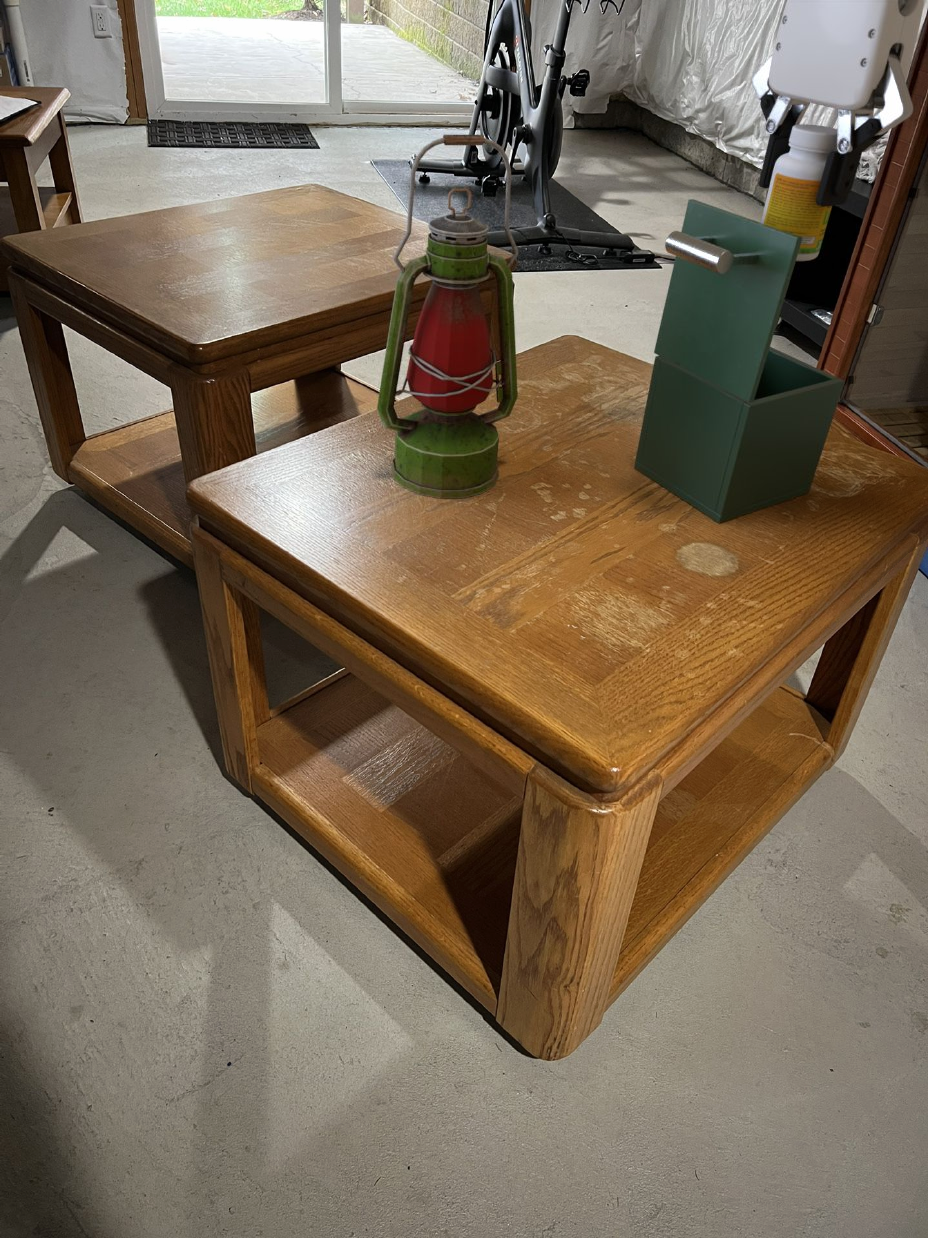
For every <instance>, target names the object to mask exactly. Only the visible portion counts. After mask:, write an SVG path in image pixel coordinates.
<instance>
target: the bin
mask: <svg viewBox="0 0 928 1238" xmlns="http://www.w3.org/2000/svg"><path fill="white" fill-rule="evenodd" d="M845 382H846V381H845V380H843V379H841V378H839V377H837V376H835V375H833V374H831V373H828V372H827V371H824V370H822V369H819V368H817V367H815V366H813V365H812V364H811V365H810V364H808V363H806V362H805V361H802V360H800V359H798V358H796V357H794V356H792V355H789V354H787V353H785V352H783V351H781V350H778V349H777V348H774V347H772V346H770V348H769V352H768V355H767V358H766V362H765V365H764V368H763V371H762V375H761V378H760V381H759V385H758V388H757V391H756V395H755V398H754V401H753V402H747V401H745V400H743V399H741V398H739V397H737V396H735V395H733V394H732V393H730V392H728V391H726V390H724V389H722V388H720V387H718V386H716V385H714V384H712V383H711V382H709V381H707V380H705V379H703V378H701V377H699V376H697V375H695V374H693V373H691V372H689V371H688V370H686V369H684V368H682V367H680V366H678V365H676V364H674V363H672V362H670V361H668V360H667V359H665V358H663V357H661V356H659V355H656V356H655V357H654V361H653V367H652V372H651V377H650V383H649V387H648V393H647V398H646V404H645V408H644V412H643V413H644V414H643V418H642V425H641V429H640V434H639V440H638V444H637V450H636V454H635V455H636V456H635V459H634V460H635V461H634V466H633V468H634V469H635V470H636V471H638V472H640V473H642V474H643V475H645V477H647V478H649V479H650V480H652V481H654V482H655V483H657V484H658V485H659V486H661V487H663V488H664V489H666V490H667V491H669V492H670V493H672V494H673V495H675V496H676V497H678V498H679V499H681V500H682V501H684V502H686V503H687V504H689V505H690V506H692V507H693V508H695V509H696V510H698V511H700V512H701V513H703V515H705V516H707V517H709V518H710V519H712V520H713V521H714V522H716V523H718V524H721V523H724V522H728V521H731V520H733V519H737V518H739V517H743V516H745V515H748V514H751V513H754V512H758V511H760V510H763V509H766V508H768V507H772V506H775V505H777V504H781V503H783V502H786V501H789V500H792V499H795V498H798V497H801V496H803V495H806V494H807V495H808V494H809V493H810V490H811V487H812V484H813V481H814V477H815V475H816V472H817V469H818V466H819V463H820V460H821V457H822V455H823V450H824V447H825V444H826V441H827V438H828V435H829V432H830V429H831V426H832V424H833V420H834V417H835V414H836V410H837V408H838V404H839V401H840V398H841V395H842V392H843V390H844V386H845Z"/></svg>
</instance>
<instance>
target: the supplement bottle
mask: <svg viewBox="0 0 928 1238" xmlns="http://www.w3.org/2000/svg"><path fill="white" fill-rule="evenodd" d="M789 142H790V143H789V146H790V147H791V149H790V151H789V153H786V154H783V155H782V156H780V157H779V158H778V159H777V161H776V163H775V166H774V169H773V173H772V177H771V182H770V186H769V188H768V190H767V195H766V199H765V202H764V207H763V211H762V214H761V219H760V223H763V224H765V225H768V226H771V227H774V228H777V229H780V230H783V231H785V232H788V233H791V234H794V235H797V236H800V237H802V238H803V239H802V242H801V245H800V249H799V252H798V255H797V259H796V262H807V261H812V260H815V259H816V258H818V256H819V254H820V250H821V247H822V244H823V240H824V237H825V233H826V229H827V225H828V222H829V220H830V219H829V218H830V215H831V211H832V208H833V206H826V207H822V206H819V205H817V203H816V197H817V193H818V190H819V186H820V182H821V179H822V175H823V171H824V168H825V164H826V160H827V157H828V154H829V153H830V152H831V151H837V128H836V127H835V128H834V127H831V126H825V125H819V124H806V123H805V124H804V123H802V124H801V123H800V124H799V125H794V126H793V128H792V132H791V135H790V139H789Z"/></svg>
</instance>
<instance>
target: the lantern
mask: <svg viewBox="0 0 928 1238" xmlns="http://www.w3.org/2000/svg"><path fill="white" fill-rule="evenodd" d="M442 144H443V145H444V146H483V145H484V144H485V145H488V146H490V147H492V148H493V149H495V150H496V151H497V152H499V155H500V156H501V158H502V159H503V162H504V167H505V170H506V175H505V179H506V180H505V203H504V204H505V205H504V206H505V207H504V232H505V234H506V237H507V239H508V242H509V245H510V246H511V248H512V250H513V254H512V256H511V257H510V259H508V261H506V260H505V258H504V257H503V256H501V255H497V254H494V253H490V252H489V251H488V238H487V237H488V236H486V235H487V234H488V233H489V226H488V225H487V224H486V223H484V222H483V221H481V220H478V219H476V218H474V217H473V216H470V215H467V214H466V211H467V210H469V209H471V206H472V197H473V196H472V192H471V190H469V188H468V187H464V188H463V187H462V188H455V187H453V188H452V189H451V190H450V191H449V192H448V195H447V208H448V210H449V211H451V213H449V214H446V215H443V216H440V217H437V218H433V219H431V220H430V221H429V222H428V226H427V227H428V230H429V231H430V233H428V234H427V247H426V250H425V251H426V252H425V254H424V255H421V256H419V257H416V258H413V259H410V260H408V262H407V263H406V265H405V266H403V263H402V262H401V261H400V259H399V257H400V254H401V253H402V251H403V249H404V247H405V245H406V243H407V241H408V240H409V238H410V236H411V234H412V224H413V214H414V213H413V211H414V199H415V197H414V196H415V183H416V173H417V170H418V167H419V164H420V162H421V160H422V158H423V157H424V156H425V155H426V153H427V152H428V151H430V150H431V149H433V148H434V147H436V146H439V145H442ZM412 164H413V165H412V167H411V169H410V178H409V189H408V190H409V192H408V207H407V219H406V222H407V223H406V231H405V233H404V235H403V237H402V239H401V240H400V243H399V244H398V247H397V249H395V252H394V255H393V257H392V258H393V261H394V263H395V265H396V266H397V268H398V270H399V271H400V273H399V275H398V276H397V279H396V282H395V289H394V296H393V302H392V309H391V313H390V314H391V315H390V321H389V329H388V333H387V334H388V335H387V341H386V348H385V353H384V361H383V366H382V373H381V379H380V386H379V391H378V392H379V393H378V399H377V406H376V410H377V413H378V416H379V419H380V422H381V425H382V427H383V429H387V430H391V431H394V432H395V434H394V435H395V436H394V443H395V444H394V458H393V459H392V462H391V472H392V473H391V474H392V478H393V479H394V480H395V481H396V482H397V483H398V484H399V485H400V486H401V487H402V488H404V489H407V490H408V491H411V492H413V493H415V494H418V495H419V496H426V497H431V498H436V499H465V498H468V497H473V496H478V495H482V494H483V493H485V492H486V491H488V490H489V489H491V488H493V487H494V486H495V485H496V483H497V481H498V479H499V476H500V475H499V474H500V472H499V466H498V456H499V455H498V454H499V444H500V434H499V432H498V428H497V426H496V425H494V424H495V423H497V422H499V421H502V420H503V419H506V418H508V417H510V416H511V414H512V411H513V409H514V406H515V404H516V402H517V400H518V397H519V395H518V370H517V369H518V368H517V349H516V325H515V323H516V322H515V307H514V306H515V305H514V304H515V302H514V300H515V299H514V282H513V281H514V280H513V273H512V270H511V268H510V267H511V266H512V264H513V263H514V262H515V260H516V259H517V258H518V256H519V250H518V247H517V245H516V242H515V240H514V237H513V235H512V233H511V230H510V208H511V186H512V185H511V182H512V168H511V164H510V160H509V157H508V155H507V153H506V151H505V149H503V147H502V146H501V145H499V144H498V143H497V142H496V141H494V140H492V139H489V138H486V137H485V135H484V134H443V135H442V137H440V138H438V139H435V140H432V141H431V142H429V143H428V144H426V145H425V146H423V148H421V150H420V151H419V152H418V154H417V155H416V156H415V158H414V161H413V163H412ZM454 192H466V193H467V194H468V201H467V206H465V207H463V209H462V211H460V212H456V209H455V207H453V206H451V201H452V195H453V193H454ZM491 273H492V274H493V275H494V279H495V291H496V310H497V326H498V327H497V329H498V346H499V360H498V361H497V360H496V354H495V350H494V348H492V347H491V343H490V341H491V340H490V333H489V328H488V323H487V318H486V312H485V307H484V303H483V300H482V296H481V293H480V290H479V286H478V285H479V283H482V282H483V281H487V280H488V279H489V277H490V276H491ZM421 274H422V275H424V276H425V277H427V279H431V280H432V282H431V285H430V287H429V289H428V292H427V294H426V297H425V300H424V302H423V305H422V308H421V312H420V314H419V317H418V321H417V324H416V327H415V331H414V335H413V341H412V344H410V345H409V348H408V352H407V353H408V355H409V361H408V365H407V371H406V376H405V378H404V381H403V384H402V388H401V389H398V384H399V378H400V372H401V366H402V361H403V360H402V359H403V353H404V347H405V343H406V342H405V340H406V335H407V328H408V324H409V323H408V322H409V316H410V310H411V305H412V304H411V303H412V300H413V299H412V298H413V293H414V285H415V282H416V280H417V278H418V277H419V276H420V275H421ZM493 369H494V370H495V371H494V373H495V378H494V376H493V375H494V374H493ZM494 384H495V385H494ZM407 385H408V389H409V390H407V389H406V386H407ZM493 385H494V386H493ZM397 389H398V390H397ZM494 390H495V391H496V392H495V394H496V402H497V403H498V406H497V408H494V409H493V410H489V411H486V412H483V413H481V414H477V413H476V412H475V410H476V408H477V406H479V405H480V404H482V403H484V402H486V400H487V399H488V397H489V395H490V393H491V392H492V391H494ZM403 393H404V394H409V395H411V396H412V397H413V398H414V399H416V400H417V401H418V402H419V403H421V407H422V408H423V409H420V410H418V411H415V412H413V413H410V414H409V415H407V416H405V417H398V415H397V412H396V409H395V402H396V397H397V396H400V395H402V394H403Z"/></svg>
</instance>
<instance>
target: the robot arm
mask: <svg viewBox="0 0 928 1238" xmlns="http://www.w3.org/2000/svg"><path fill="white" fill-rule="evenodd" d="M924 5H925V0H786V3H785V6H784V10H783V12H782V16H781V20H780V23H779V26H778V30H777V34H776V38H775V42H774V46H773V50H772V54H771V55H770V56H769V58H767V60H766V61H765V62H764V63H763V64H762V66H760V67H759V69H758V70H757V71H756V72H755V73H754V74H753V76H752V78H751V84H752V87H753V90H754V91H755V93H756V96H757V98H758V100H759V101H760V103H759V106H760V109H761V111H762V115H763V117H764V119H765V124H764V131H765V133H766V135H768V136H769V137H768V141H767V146H766V150H765V155H764V158H763V162H762V167H761V173H760V176H759V181H758V186H759V187H760V188H762V189H769V186H770V182H771V177H772V173H773V169H774V166H775V163H776V161H777V159H778V158H779V157H780V156H782V155H783V154H786V153H789V151H790V149H791V147H790V146H789V143H790V142H789V139H790V135H791V132H792V128H793V126H794V125H800V124H801V122H802V120H803V118H804V116H805V115H806V113H807V111H808V108H809V107H810V104H814V105H819V106H823V107H828V108H832V109H837V126H836V127H837V128H836V129H837V151H831V152H830V153H829V154H828V157H827V160H826V164H825V168H824V171H823V175H822V179H821V182H820V186H819V190H818V193H817V197H816V203H817V205H819V206H822V207H826V206H832V207H833V206H840V205H841V206H842V205H844V204H846V203H847V201H848V198H849V195H850V194H851V191H852V189H853V185H854V183H855V179H856V176H857V172H858V168H859V165H860V162H861V158H862V155H863V153H866V152H869V151H870V150H871V148H872V146H873V145H874V144H875V143H876V142H878V141H879V140H880V139H882V138H883V137H884V136H885V135H887V133H888V132H889V131H890V130H891V129H894V128H895V127H897V126H898V125H900V124H901V123H903V122H904V121H905V120H908V119H909V118H910V117H911V116H912V114H913V112H914V104H913V101H912V98H911V94H910V91H909V88H908V85H907V79H908V75H909V73H910V68H911V64H912V60H913V56H914V52H915V49H916V44H917V40H918V35H919V30H920V26H921V21H922V16H923V10H924ZM875 109H877V110H881V111H880V112H878V113H877V114H876V115H875V116H874V114H875Z"/></svg>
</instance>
